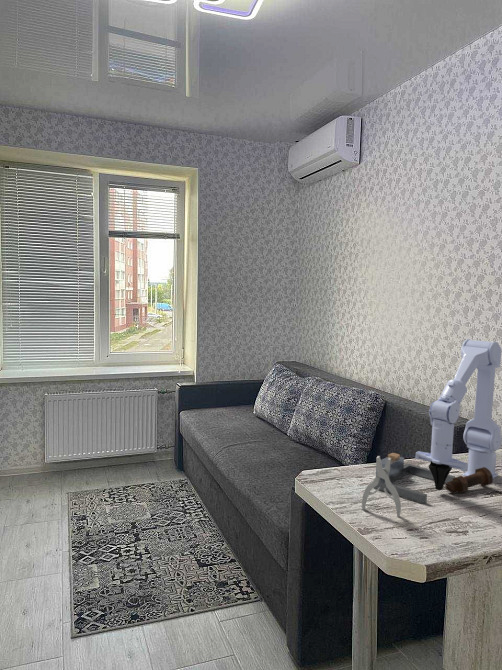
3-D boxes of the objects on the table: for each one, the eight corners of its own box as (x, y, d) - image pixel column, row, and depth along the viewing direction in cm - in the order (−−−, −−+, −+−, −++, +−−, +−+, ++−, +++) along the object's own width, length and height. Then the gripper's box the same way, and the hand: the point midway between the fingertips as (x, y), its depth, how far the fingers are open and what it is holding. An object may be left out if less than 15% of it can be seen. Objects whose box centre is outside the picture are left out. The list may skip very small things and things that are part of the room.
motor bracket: (399, 468, 167) (400, 447, 166) (454, 484, 155) (456, 461, 154) (365, 485, 152) (367, 462, 151) (424, 504, 140) (425, 479, 139)
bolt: (455, 481, 145) (492, 469, 151) (441, 475, 149) (478, 463, 156) (455, 501, 146) (492, 488, 152) (442, 494, 150) (478, 482, 156)
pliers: (400, 516, 132) (403, 459, 131) (399, 518, 131) (402, 461, 129) (362, 508, 136) (365, 453, 135) (361, 510, 135) (363, 455, 134)
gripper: (411, 439, 148) (409, 485, 149) (462, 451, 138) (459, 500, 139) (422, 435, 153) (420, 479, 154) (472, 446, 143) (468, 493, 145)
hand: (439, 488), depth 147 cm, fingers closed
